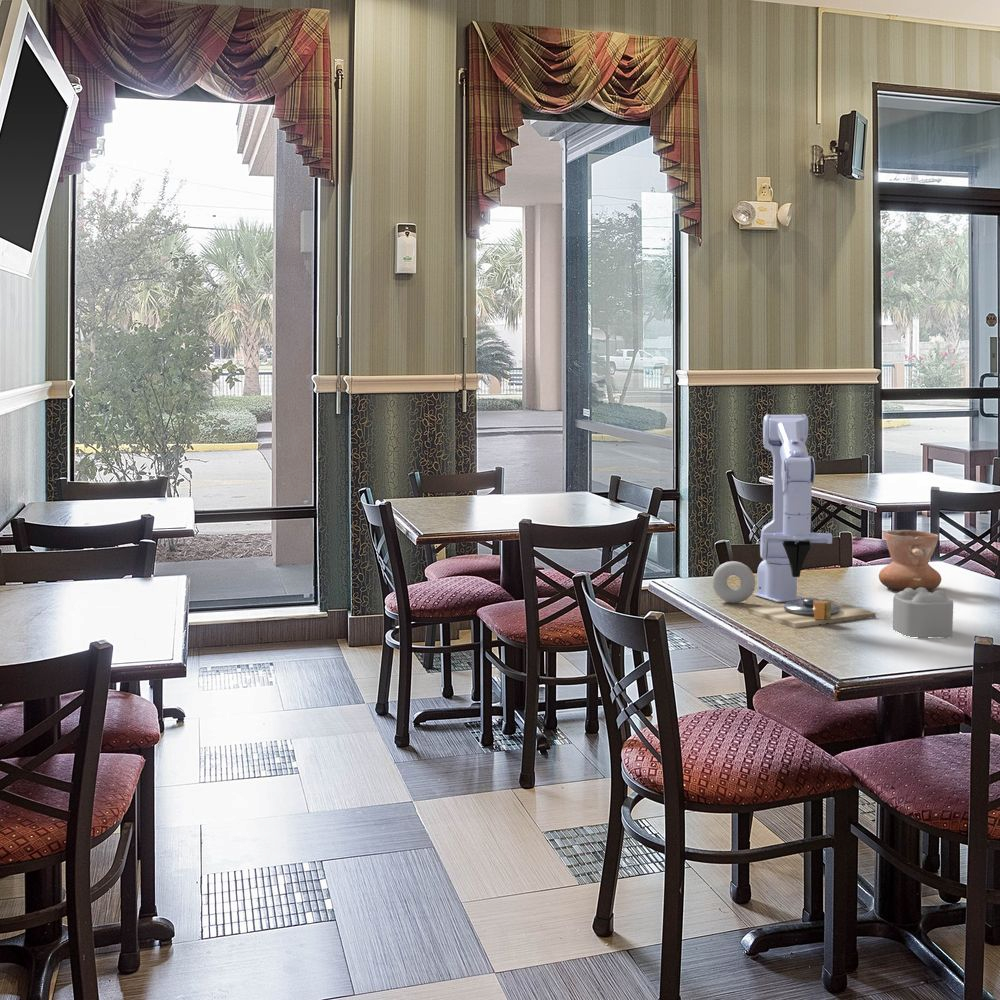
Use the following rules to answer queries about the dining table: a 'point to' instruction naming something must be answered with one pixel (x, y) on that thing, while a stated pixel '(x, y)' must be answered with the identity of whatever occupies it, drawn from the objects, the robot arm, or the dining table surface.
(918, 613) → the lumpy-topped squat cylinder
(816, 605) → the flange plate
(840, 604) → the board
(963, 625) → the dining table surface
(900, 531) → the ceramic jug
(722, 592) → the donut
